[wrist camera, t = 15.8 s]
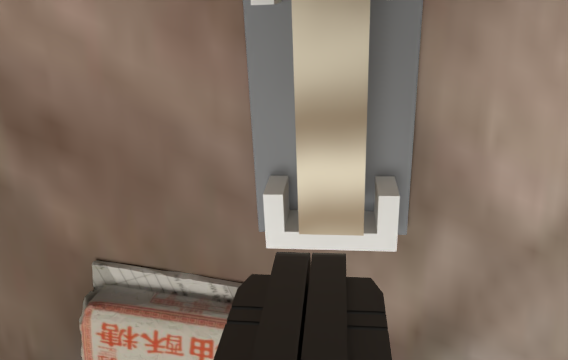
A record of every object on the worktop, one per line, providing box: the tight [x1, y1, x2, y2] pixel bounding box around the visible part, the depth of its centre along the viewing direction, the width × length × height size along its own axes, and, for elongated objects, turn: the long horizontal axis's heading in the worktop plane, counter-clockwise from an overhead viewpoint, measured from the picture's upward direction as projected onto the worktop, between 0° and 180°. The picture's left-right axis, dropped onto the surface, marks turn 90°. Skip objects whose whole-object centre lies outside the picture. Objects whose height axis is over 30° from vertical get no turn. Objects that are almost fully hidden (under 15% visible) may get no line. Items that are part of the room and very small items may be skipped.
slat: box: [291, 0, 370, 236], centre depth 26 cm, size 14×4×5 cm, turn 3°
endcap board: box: [243, 0, 423, 252], centre depth 27 cm, size 19×10×4 cm, turn 3°
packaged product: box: [79, 260, 242, 360], centre depth 36 cm, size 18×5×10 cm
